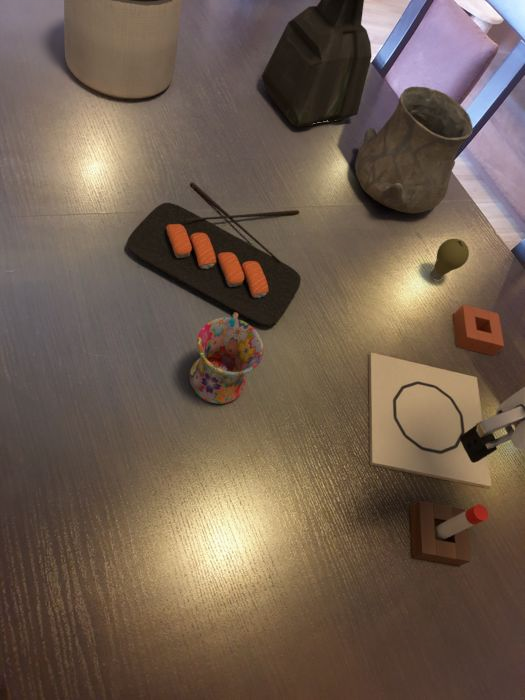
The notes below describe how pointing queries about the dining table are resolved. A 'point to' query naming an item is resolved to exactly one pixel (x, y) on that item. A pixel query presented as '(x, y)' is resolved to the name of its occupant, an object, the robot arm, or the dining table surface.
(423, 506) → the marker stand
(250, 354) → the mug
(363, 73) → the bottle
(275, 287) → the sushi plate
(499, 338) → the pen holder
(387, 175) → the vessel
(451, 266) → the light bulb
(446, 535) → the marker
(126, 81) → the planter
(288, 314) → the dining table surface
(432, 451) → the board
